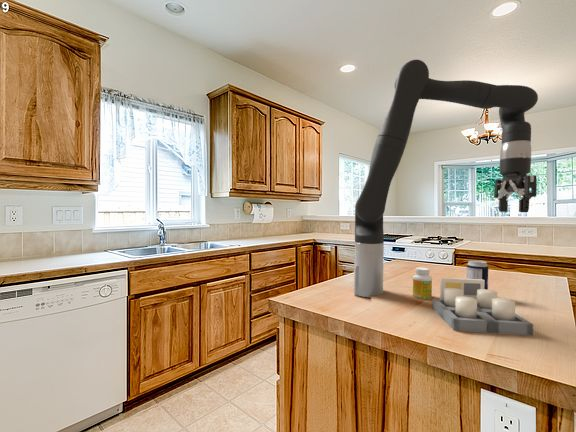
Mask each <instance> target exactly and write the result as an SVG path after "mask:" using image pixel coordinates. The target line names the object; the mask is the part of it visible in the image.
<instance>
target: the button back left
mask: <svg viewBox="0 0 576 432" xmlns="http://www.w3.org/2000/svg"><path fill="white" fill-rule="evenodd" d="M457 296H463V290H461V289H457V288H445V289H444V305H446V306H449V307H455V302H456V297H457Z"/></svg>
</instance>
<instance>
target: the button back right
mask: <svg viewBox="0 0 576 432" xmlns="http://www.w3.org/2000/svg"><path fill="white" fill-rule="evenodd" d="M493 298H498V291H495V290H491V289H488V290H487V289H478V290H477V306H478V307H480V308H483V309H492V299H493Z"/></svg>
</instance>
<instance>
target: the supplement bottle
mask: <svg viewBox="0 0 576 432" xmlns="http://www.w3.org/2000/svg"><path fill="white" fill-rule="evenodd" d="M414 273H415V274H414V275H413V276H412V297H414V298H417V299H421V300H430V299H432V293H433V291H432V290H433V289H432V287H433V286H432V284H433V283H432V282H433V280H432V276H430V269H429V268H426V267H416V268H415V272H414Z"/></svg>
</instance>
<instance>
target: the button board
mask: <svg viewBox="0 0 576 432" xmlns="http://www.w3.org/2000/svg"><path fill="white" fill-rule="evenodd" d="M439 281H440V289H439V290H440V291H439V293H440V294H439V298H432V309H433V311H435V312H436V313H437V314H438V315H439V317H441V318H442V320H443V321H444V322H445V323H446V324H447V325H448V326H449V328H451V329H452V330H453V331H456V332H457V331H458V332H471V333H487V334H502V335H515V336H516V335H518V336H534V323H532V322H530V321H529V320H528V319H525V318H523V317H522V316H520V315H518V314H517V313H515V321H504V320H498V319H495V318H493V317H492V309H483V308H480V307H478V306H477V318H476V319H471V318H461V317H458V316H456V315H455V307H449V306H446V305H444V289H445V288H457V289H461V290H463V296H466V297H471V298H475V299H477V290H478V289H484V284H485V280H481V279H467V278H456V277H455V278H452V277H451V278H450V277H440V280H439Z"/></svg>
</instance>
